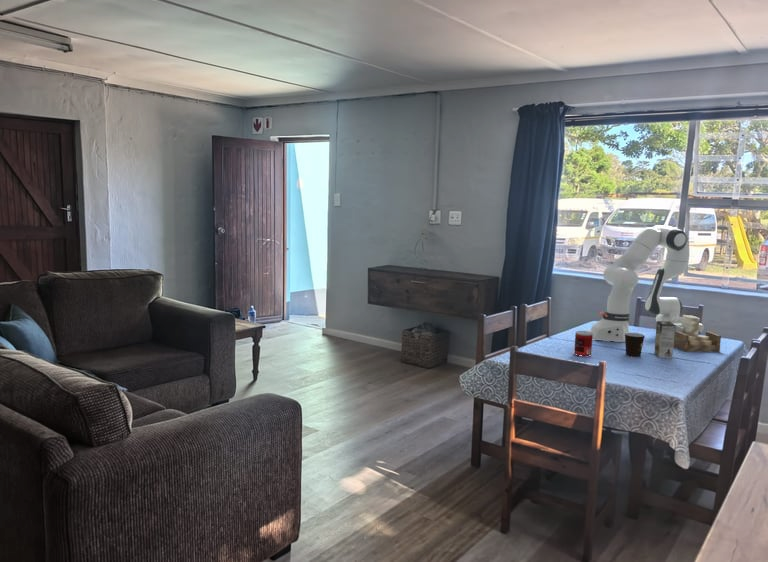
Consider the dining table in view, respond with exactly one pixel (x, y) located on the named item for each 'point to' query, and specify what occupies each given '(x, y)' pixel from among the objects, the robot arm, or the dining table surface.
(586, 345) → the canned food
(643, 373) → the dining table surface
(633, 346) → the brown paper cup
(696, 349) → the walnut rack
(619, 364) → the dining table surface
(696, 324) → the pale wood block
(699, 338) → the back plywood offcut
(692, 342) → the front plywood offcut
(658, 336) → the coffee box
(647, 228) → the robot arm
